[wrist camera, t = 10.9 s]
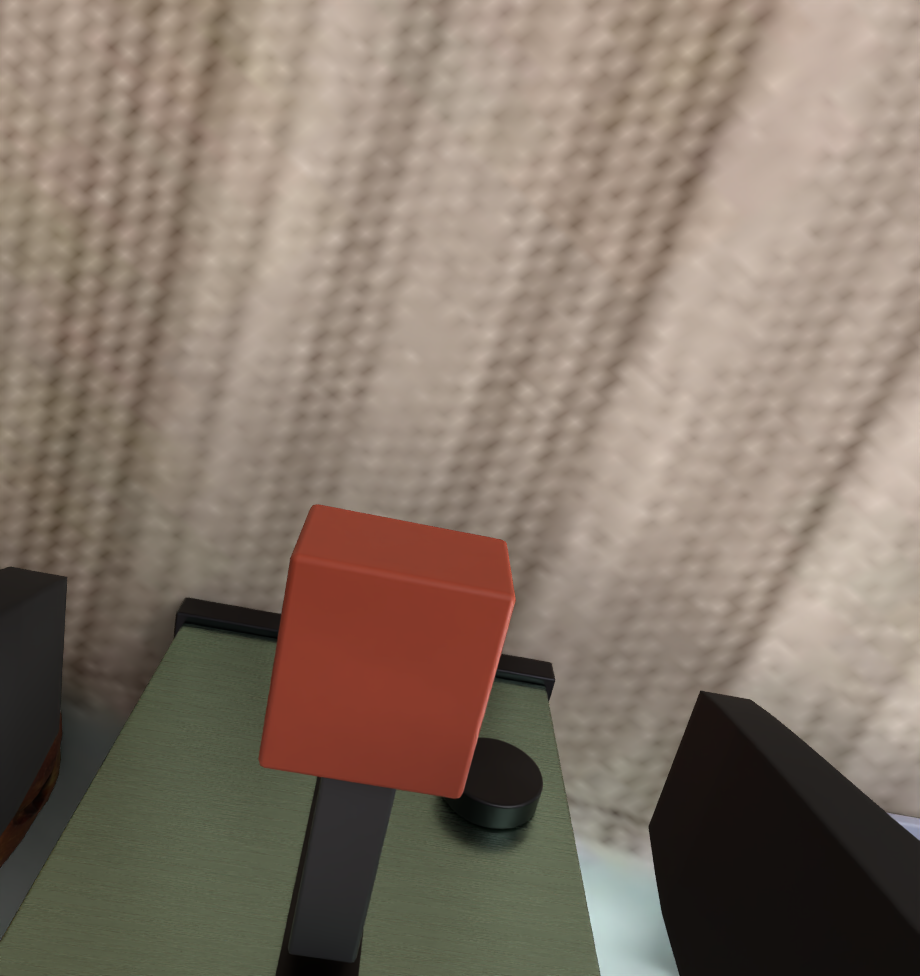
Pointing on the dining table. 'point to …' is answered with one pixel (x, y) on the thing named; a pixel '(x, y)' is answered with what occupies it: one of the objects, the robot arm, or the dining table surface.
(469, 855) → the toaster
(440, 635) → the lever
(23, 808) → the bread roll
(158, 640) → the dining table surface
